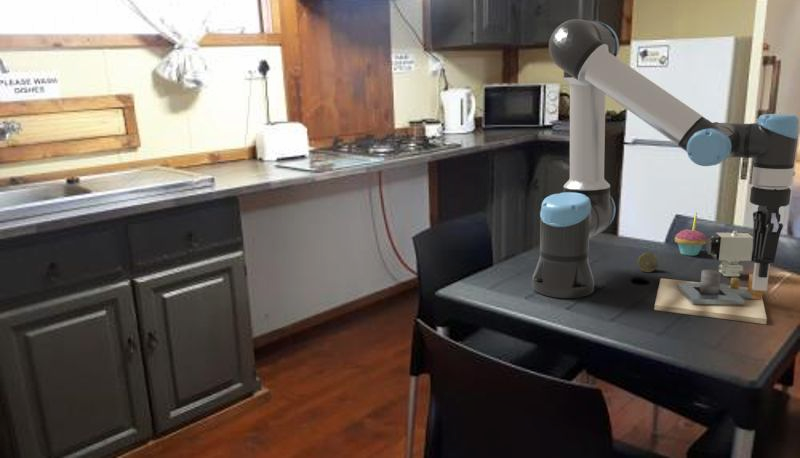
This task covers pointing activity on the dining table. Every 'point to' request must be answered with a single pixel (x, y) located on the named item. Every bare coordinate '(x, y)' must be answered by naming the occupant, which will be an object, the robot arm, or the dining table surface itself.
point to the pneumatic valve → (731, 251)
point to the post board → (710, 284)
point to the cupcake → (690, 240)
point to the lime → (647, 262)
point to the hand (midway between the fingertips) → (759, 289)
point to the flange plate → (724, 297)
